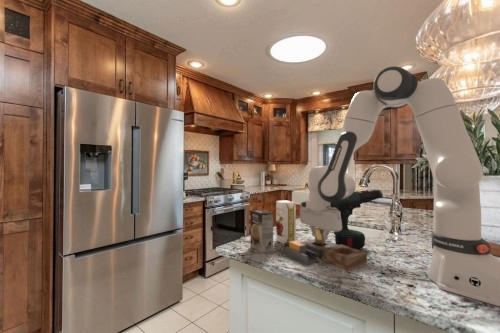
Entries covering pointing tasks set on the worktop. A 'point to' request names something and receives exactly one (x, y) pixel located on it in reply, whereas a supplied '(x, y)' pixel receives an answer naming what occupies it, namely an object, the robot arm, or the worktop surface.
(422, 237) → the worktop surface
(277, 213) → the juice carton
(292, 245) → the orange rectangular block
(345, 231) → the power drill
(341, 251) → the brown wooden box
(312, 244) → the socket block
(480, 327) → the worktop surface
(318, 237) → the brass peg
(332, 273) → the worktop surface
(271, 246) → the coffee box
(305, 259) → the rail
